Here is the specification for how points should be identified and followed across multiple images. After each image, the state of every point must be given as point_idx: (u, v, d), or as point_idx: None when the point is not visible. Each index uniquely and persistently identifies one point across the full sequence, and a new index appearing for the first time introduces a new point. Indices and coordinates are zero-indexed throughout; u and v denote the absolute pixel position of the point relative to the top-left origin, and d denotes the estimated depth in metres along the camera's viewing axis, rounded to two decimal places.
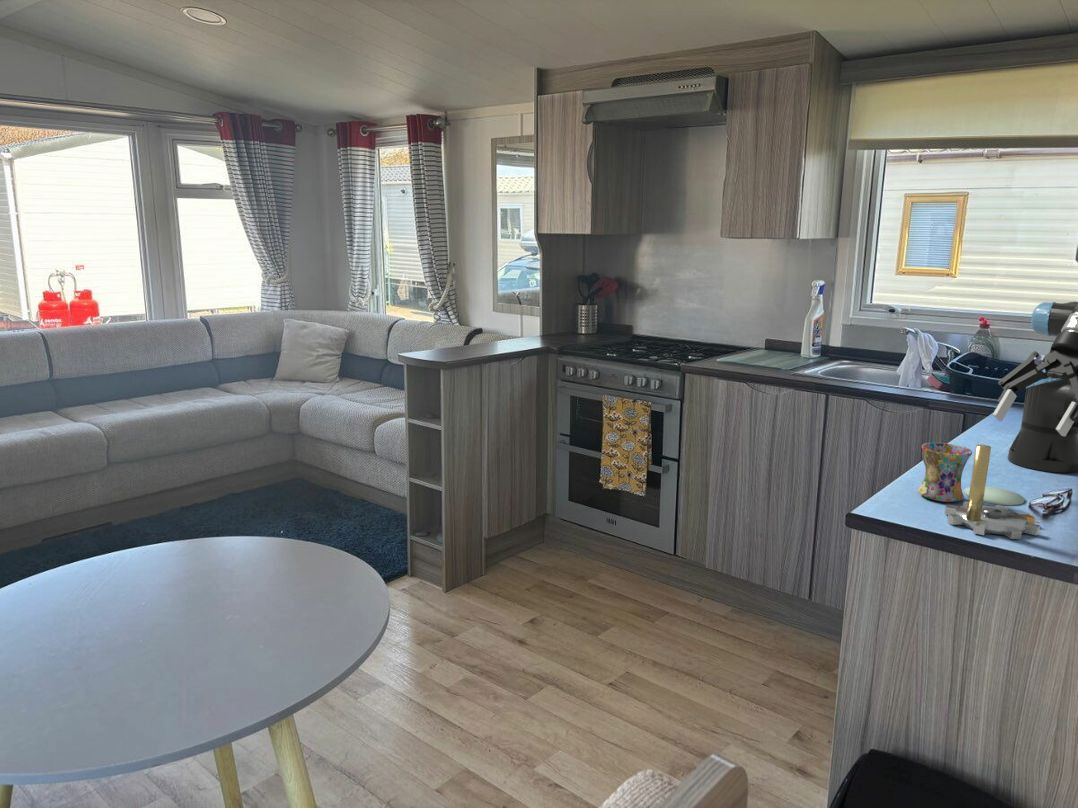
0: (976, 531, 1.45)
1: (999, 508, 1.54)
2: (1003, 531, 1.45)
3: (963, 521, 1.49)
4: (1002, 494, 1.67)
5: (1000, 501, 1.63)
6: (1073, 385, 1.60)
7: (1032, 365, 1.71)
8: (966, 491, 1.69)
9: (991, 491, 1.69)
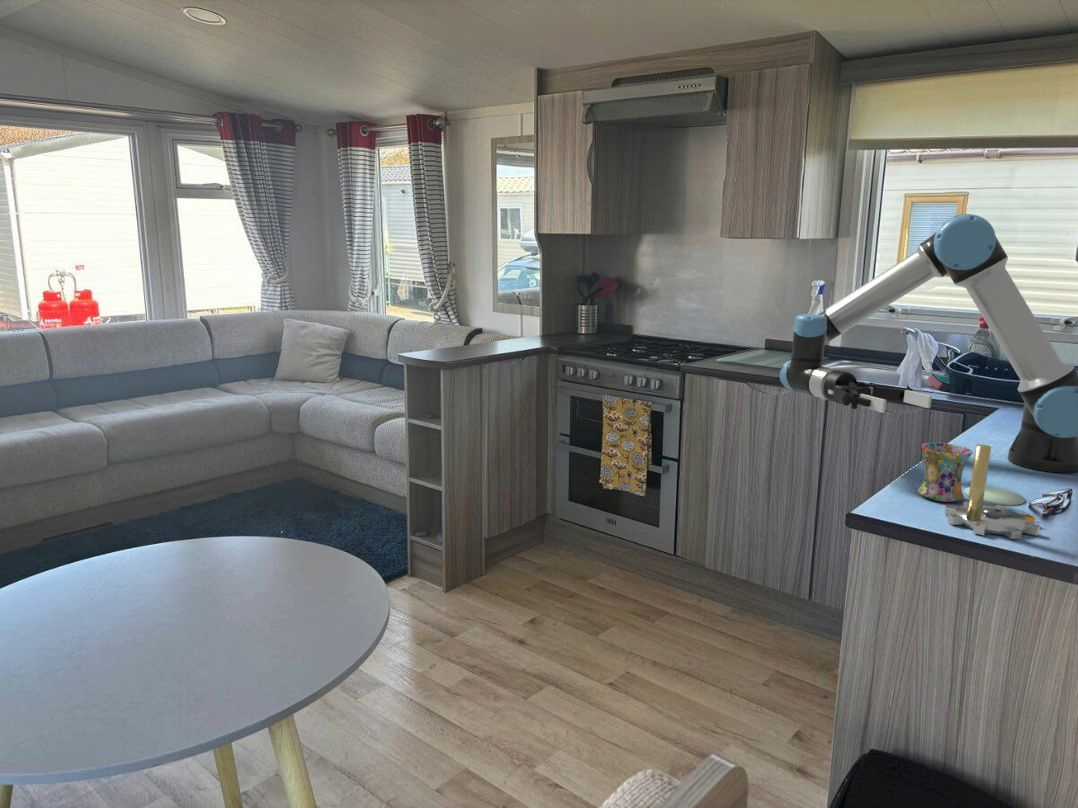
0: (976, 531, 1.45)
1: (999, 508, 1.54)
2: (1003, 531, 1.45)
3: (963, 521, 1.49)
4: (1002, 494, 1.67)
5: (1000, 501, 1.63)
6: None
7: None
8: (966, 491, 1.69)
9: (991, 491, 1.69)
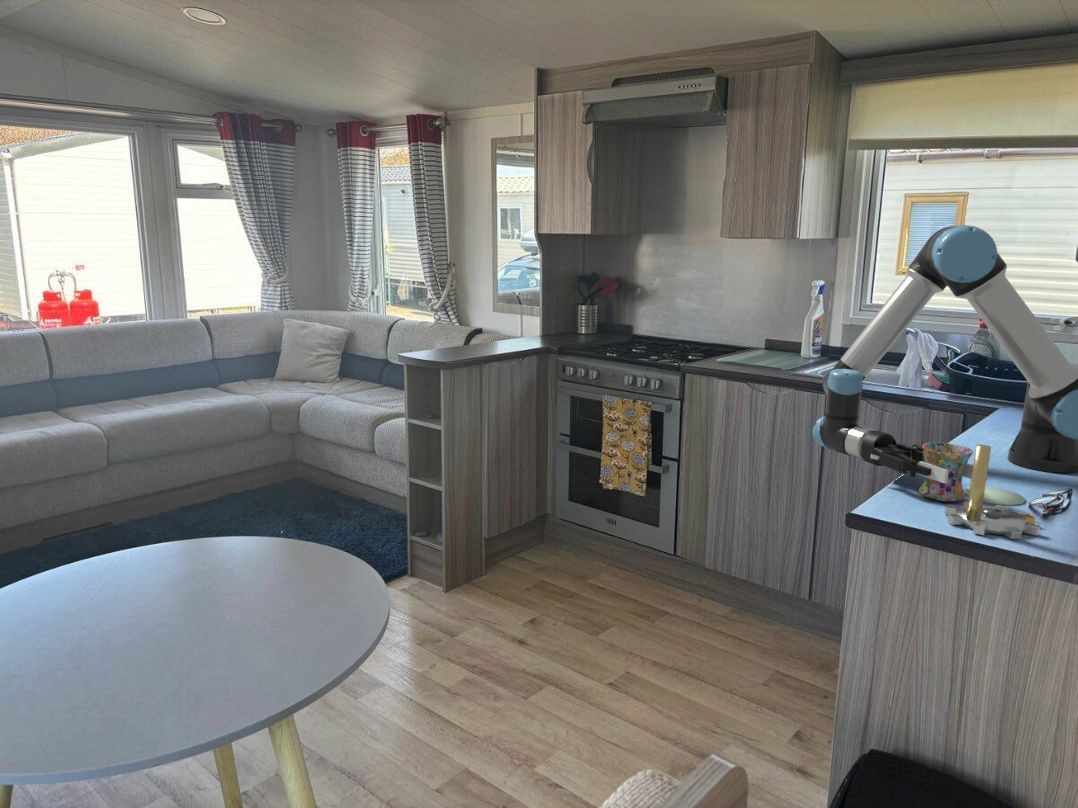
0: (976, 531, 1.45)
1: (999, 508, 1.54)
2: (1003, 531, 1.45)
3: (963, 521, 1.49)
4: (1002, 494, 1.67)
5: (1000, 501, 1.63)
6: None
7: None
8: (966, 491, 1.69)
9: (991, 491, 1.69)
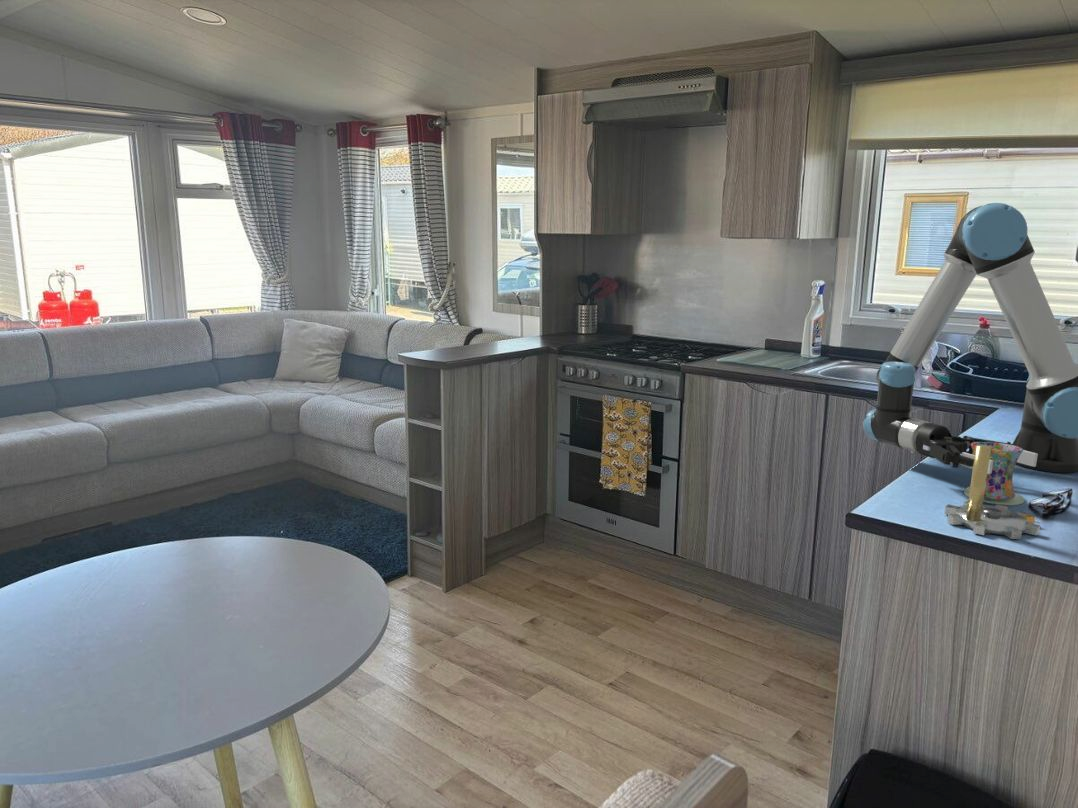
0: (976, 531, 1.45)
1: (999, 508, 1.54)
2: (1003, 531, 1.45)
3: (963, 521, 1.49)
4: None
5: (1000, 501, 1.63)
6: None
7: None
8: (966, 491, 1.69)
9: None
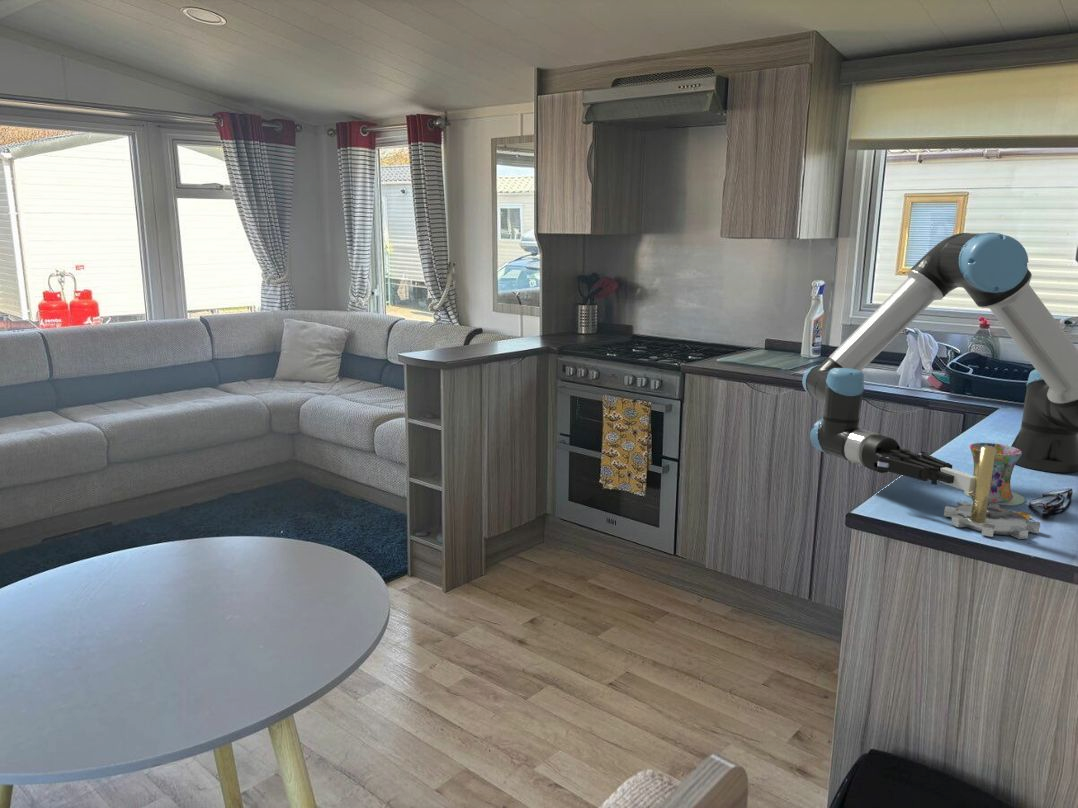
0: (985, 533, 1.44)
1: (993, 507, 1.55)
2: (1009, 531, 1.45)
3: (967, 523, 1.48)
4: None
5: None
6: None
7: None
8: None
9: None
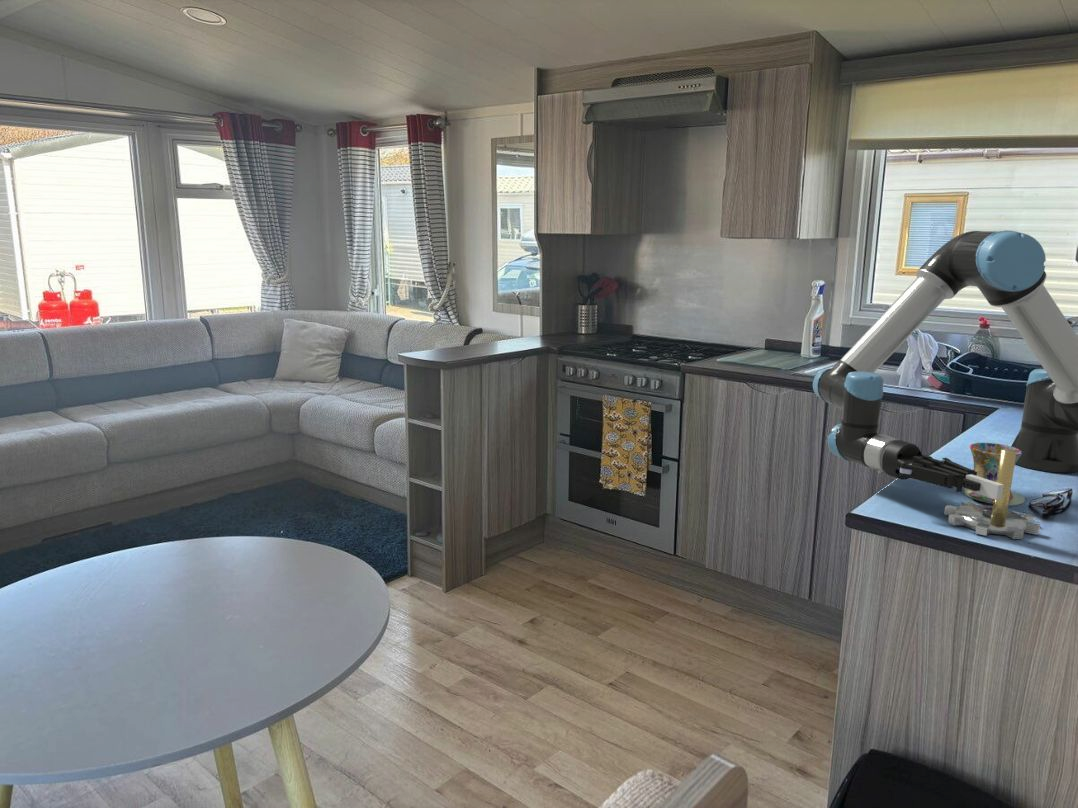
0: (1016, 536, 1.43)
1: (973, 505, 1.56)
2: (1025, 529, 1.46)
3: (990, 530, 1.45)
4: None
5: None
6: None
7: None
8: None
9: None
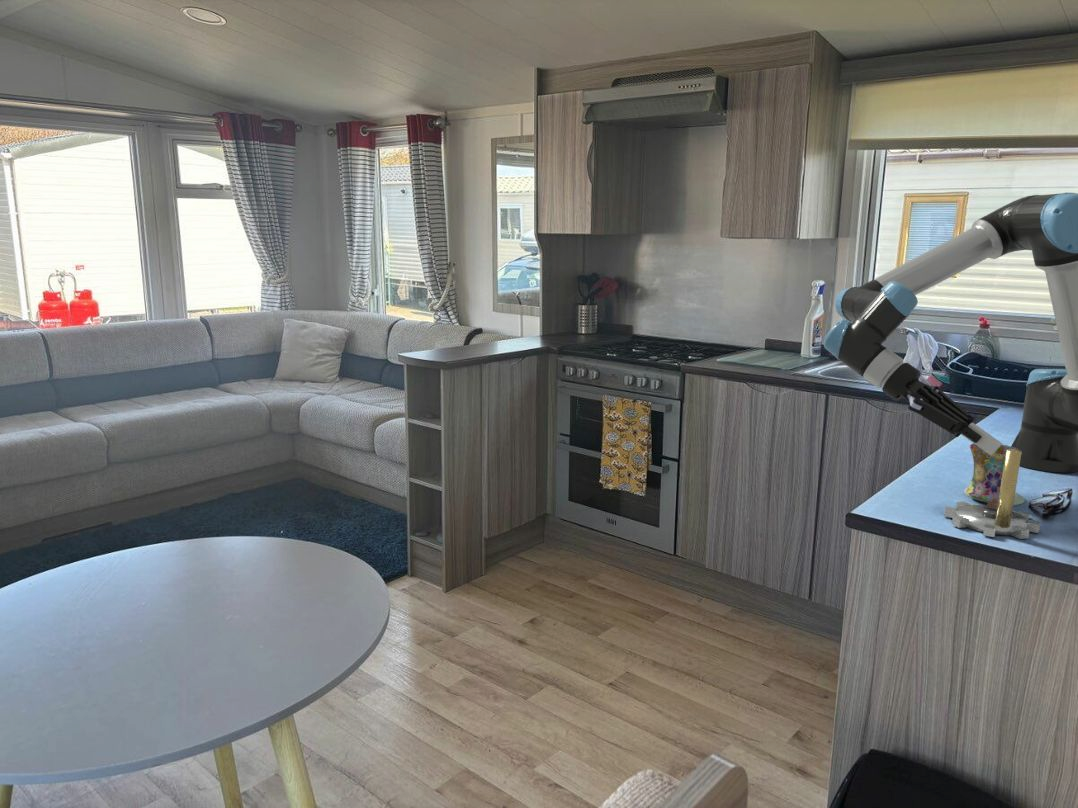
0: (1022, 536, 1.43)
1: (969, 505, 1.55)
2: (1027, 528, 1.47)
3: (996, 530, 1.45)
4: None
5: None
6: None
7: None
8: None
9: None
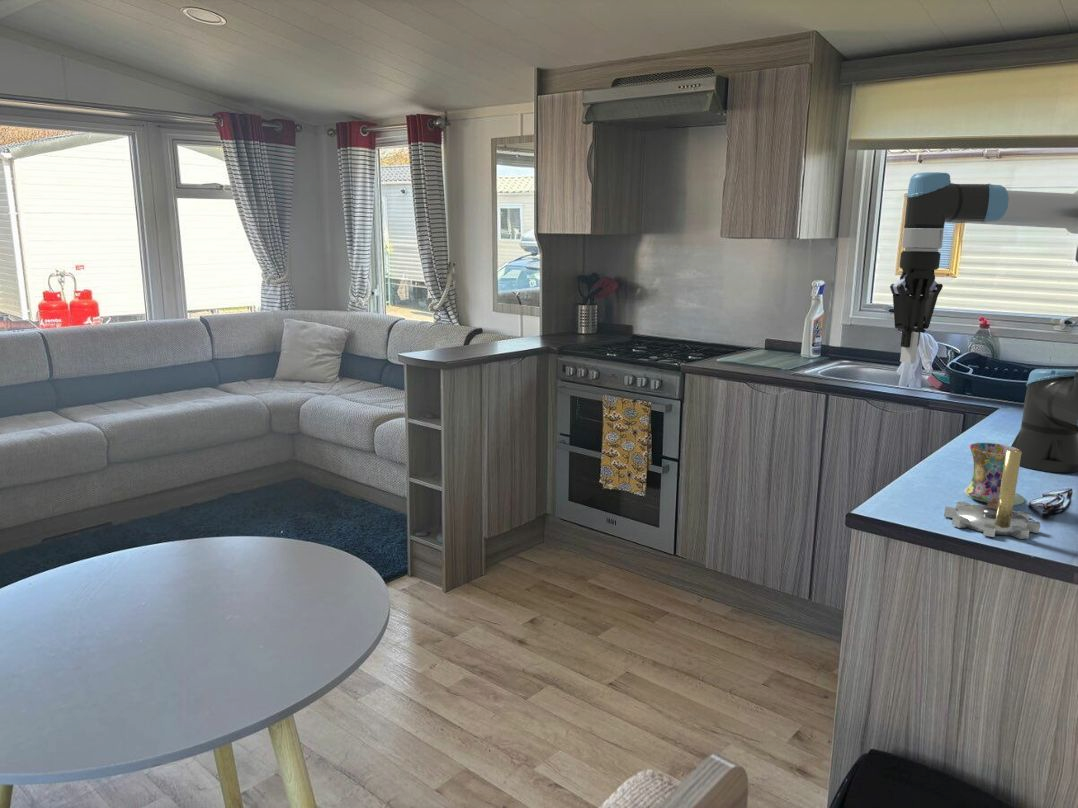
0: (1022, 536, 1.43)
1: (969, 505, 1.55)
2: (1027, 528, 1.47)
3: (996, 530, 1.45)
4: None
5: None
6: None
7: (929, 293, 1.69)
8: None
9: None
